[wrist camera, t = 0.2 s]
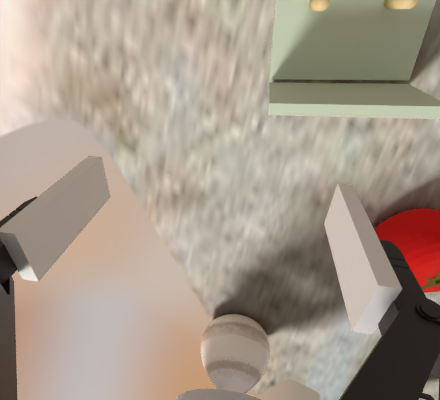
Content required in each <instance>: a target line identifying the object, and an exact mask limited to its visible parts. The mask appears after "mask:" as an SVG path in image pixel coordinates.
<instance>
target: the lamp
mask: <svg viewBox="0 0 440 400" xmlns="http://www.w3.org/2000/svg"><path fill="white" fill-rule="evenodd" d="M201 358H202V363H203V366H204V369H205V372H206V373H207V375H208V377H209V379H210V380H211V382H212V383H213V385H214V386H215V387H216V388H217V389H197V390H191V391H187V392H185V393H182V394H181V395H179V396H178V397H177V398H176V400H260V399H258V398H255V397H252V396H249V395H247V394H245V393H247V392H248V391H249V390H250V389H252V388H253V387H254V386H255V385H256V384H257V383H258V382H259V381H260V379H261V378H262V376H263V375H264V373H265V371H266V368H267V365H268V362H269V358H270V344H269V340H268V337H267V334H266V332H265V331H264V329H263V328H262V327H261V326H260V325H259V324H258V323H257V322H256V321H254V320H253V319H251V318H249V317H247V316H244V315H240V314H227V315H222V316H220V317H218V318H216V319H214V320H213V321H212V322H211V323H210V324H209V325H208V326H207V328H206V329H205V331H204V333H203V336H202V340H201Z"/></svg>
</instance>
